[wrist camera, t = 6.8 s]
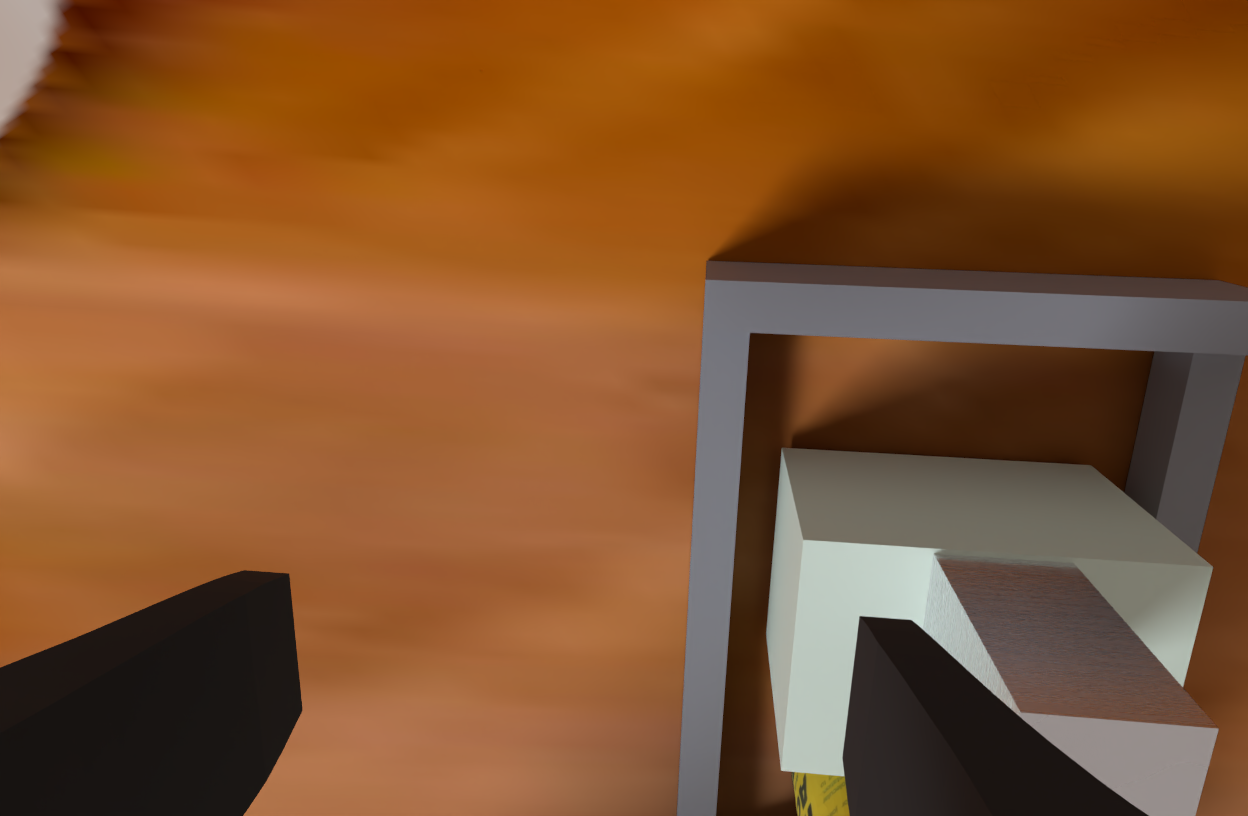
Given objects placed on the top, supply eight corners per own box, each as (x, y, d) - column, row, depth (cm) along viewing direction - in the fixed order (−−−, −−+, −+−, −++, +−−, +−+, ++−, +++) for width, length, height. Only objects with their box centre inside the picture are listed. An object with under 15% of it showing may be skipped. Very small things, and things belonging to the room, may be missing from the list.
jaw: (765, 633, 22) (804, 984, 13) (781, 447, 20) (838, 690, 11) (1053, 655, 21) (1311, 1040, 12) (1090, 465, 20) (1419, 737, 10)
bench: (673, 869, 24) (662, 1089, 19) (706, 260, 19) (704, 306, 14) (1074, 909, 23) (1190, 1154, 18) (1218, 280, 18) (1448, 339, 13)
